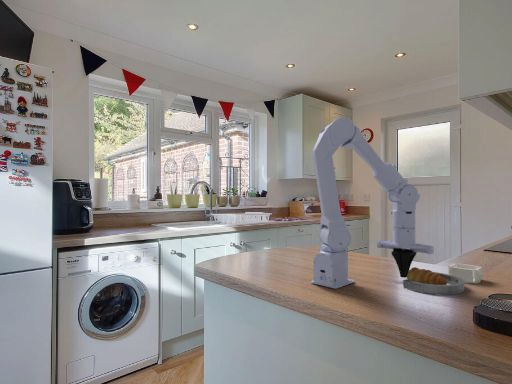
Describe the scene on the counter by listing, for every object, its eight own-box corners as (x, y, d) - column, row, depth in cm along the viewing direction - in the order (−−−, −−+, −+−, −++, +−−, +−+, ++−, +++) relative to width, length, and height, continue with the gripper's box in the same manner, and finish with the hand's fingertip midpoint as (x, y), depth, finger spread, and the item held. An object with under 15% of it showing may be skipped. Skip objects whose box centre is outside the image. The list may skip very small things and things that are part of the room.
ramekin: (476, 285, 85) (476, 270, 85) (447, 280, 90) (447, 266, 90) (483, 280, 90) (483, 266, 90) (454, 275, 95) (454, 262, 95)
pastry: (453, 286, 84) (452, 272, 83) (438, 291, 80) (438, 275, 80) (418, 278, 92) (418, 265, 92) (403, 282, 88) (403, 268, 88)
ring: (454, 299, 74) (453, 290, 74) (401, 288, 82) (401, 280, 82) (472, 285, 84) (471, 277, 84) (424, 277, 93) (424, 270, 93)
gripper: (437, 228, 87) (437, 278, 87) (384, 224, 98) (384, 269, 97) (428, 230, 82) (428, 284, 82) (373, 226, 93) (373, 274, 93)
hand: (404, 276), depth 89 cm, fingers closed
